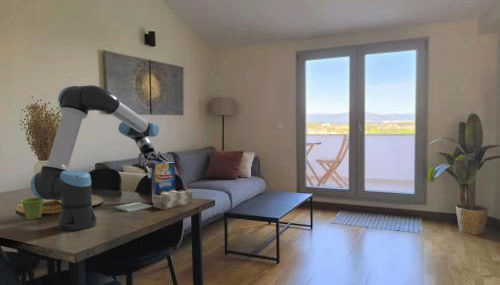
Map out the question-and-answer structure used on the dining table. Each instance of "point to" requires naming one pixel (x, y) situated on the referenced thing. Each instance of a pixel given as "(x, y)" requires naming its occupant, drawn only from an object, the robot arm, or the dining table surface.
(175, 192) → the offcut stack
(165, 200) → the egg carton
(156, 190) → the blue food box
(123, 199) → the dining table surface
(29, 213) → the plant pot
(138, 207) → the mat
